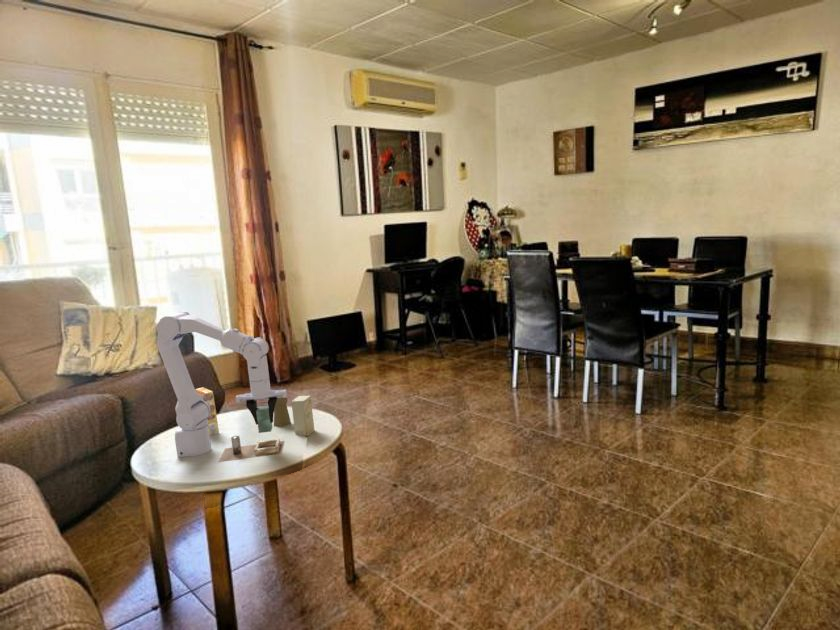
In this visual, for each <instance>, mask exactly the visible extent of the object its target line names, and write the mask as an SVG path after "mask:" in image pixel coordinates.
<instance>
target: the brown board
mask: <svg viewBox="0 0 840 630" xmlns="http://www.w3.org/2000/svg"><path fill="white" fill-rule="evenodd" d="M284 445H285V440H281V438H276V439H267V440H261V441H260V440H259V441H256V444H249V445H243V446H241V453H240V454H237V455H234V454H233V448H232V447H227V448H224V450H223V452H222V454H221V456H220V458H219V461H218V463H221V462H229V461H237V460H244V459H251V458H252V459H253V458H260V457H266V456H273V455H274V456H275V455H282V454H283V449H284Z"/></svg>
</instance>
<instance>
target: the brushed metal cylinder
mask: <svg viewBox="0 0 840 630" xmlns="http://www.w3.org/2000/svg"><path fill="white" fill-rule="evenodd" d="M230 439H231V440H230V441H231V446H232V447H231V448H233V454H234V455H237V454H240V453H241V445H242V444H241V437H240V435H233V436H232V437H231V438H230Z"/></svg>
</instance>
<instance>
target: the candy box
mask: <svg viewBox="0 0 840 630" xmlns="http://www.w3.org/2000/svg"><path fill="white" fill-rule="evenodd" d="M195 391H196V393H197V394H199V395H201V396H202V397H203V399H204V401H205V402H206V403H207V404H208V406H209V407H210V415H209V417H208V418H207V420H208V429H209V436H211V435H216V434H220V430H219V429H220V428H219V423H218V417H217V416H218V415H217V409H216V403H215V397H214V396H215V395H214V391H213V390H210V389H208V388H206V387H199V388H195Z"/></svg>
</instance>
